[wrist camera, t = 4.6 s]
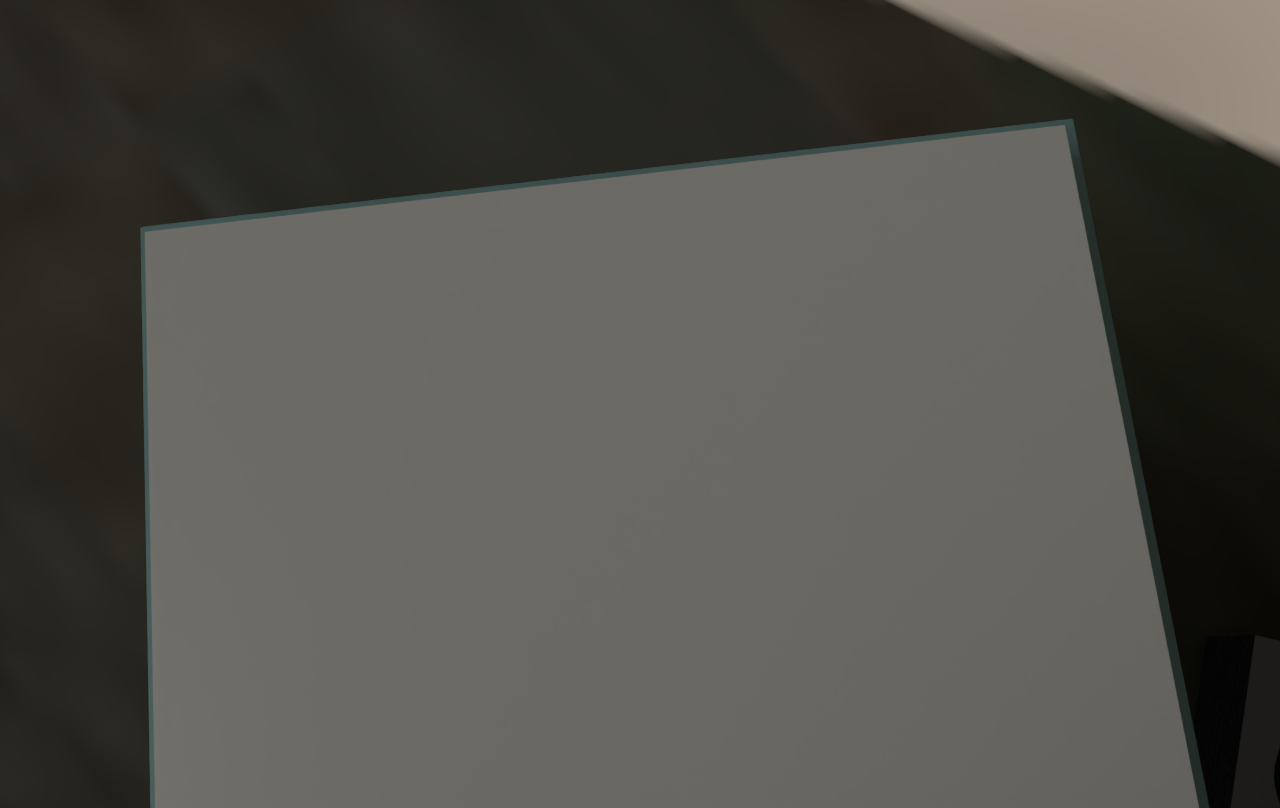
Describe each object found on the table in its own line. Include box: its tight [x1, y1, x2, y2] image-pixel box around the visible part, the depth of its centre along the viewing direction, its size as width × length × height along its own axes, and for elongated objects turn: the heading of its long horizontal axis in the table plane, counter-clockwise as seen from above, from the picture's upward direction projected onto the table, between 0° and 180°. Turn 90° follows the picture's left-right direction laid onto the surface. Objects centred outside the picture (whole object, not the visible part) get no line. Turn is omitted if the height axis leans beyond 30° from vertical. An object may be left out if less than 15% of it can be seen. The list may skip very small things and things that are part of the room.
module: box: [141, 119, 1209, 808], centre depth 12 cm, size 5×5×12 cm
